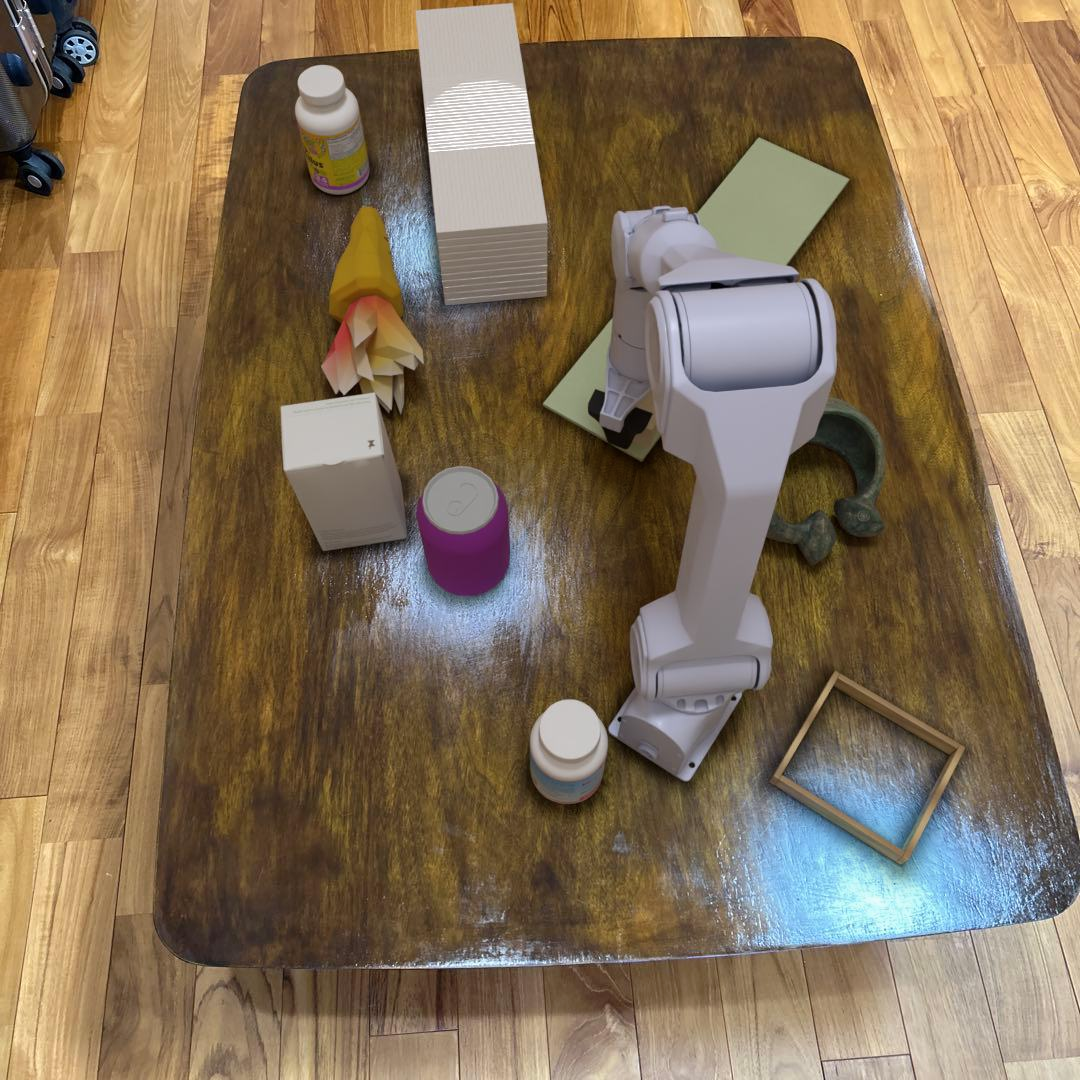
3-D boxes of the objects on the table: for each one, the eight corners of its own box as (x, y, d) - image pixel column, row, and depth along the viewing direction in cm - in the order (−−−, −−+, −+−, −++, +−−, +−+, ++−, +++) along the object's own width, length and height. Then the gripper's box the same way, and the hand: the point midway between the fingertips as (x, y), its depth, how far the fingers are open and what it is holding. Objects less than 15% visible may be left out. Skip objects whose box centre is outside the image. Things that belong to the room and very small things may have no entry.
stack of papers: (546, 296, 113) (547, 222, 103) (445, 305, 112) (436, 232, 102) (514, 84, 127) (512, 2, 117) (424, 92, 127) (415, 10, 117)
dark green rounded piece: (781, 598, 97) (806, 548, 88) (687, 474, 103) (701, 416, 94) (911, 523, 100) (947, 467, 92) (813, 407, 106) (838, 345, 97)
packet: (649, 447, 104) (652, 430, 101) (601, 429, 105) (603, 412, 102) (664, 415, 105) (667, 398, 103) (616, 398, 106) (618, 380, 104)
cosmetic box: (402, 482, 102) (380, 387, 89) (409, 544, 99) (388, 455, 86) (313, 494, 102) (278, 401, 88) (318, 556, 99) (282, 469, 85)
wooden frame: (900, 865, 86) (908, 860, 85) (768, 782, 89) (773, 776, 88) (957, 753, 90) (965, 747, 89) (829, 678, 94) (835, 670, 92)
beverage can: (481, 615, 96) (474, 556, 86) (410, 575, 98) (394, 512, 87) (526, 549, 99) (524, 484, 88) (457, 511, 101) (447, 443, 90)
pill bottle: (596, 812, 88) (603, 776, 78) (523, 797, 89) (521, 760, 79) (609, 741, 91) (617, 698, 81) (538, 727, 92) (538, 683, 81)
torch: (385, 261, 120) (395, 432, 105) (315, 240, 116) (316, 414, 102) (412, 204, 114) (427, 377, 100) (340, 180, 110) (345, 356, 96)
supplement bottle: (303, 165, 121) (278, 68, 110) (358, 147, 122) (339, 49, 111) (323, 205, 118) (300, 110, 107) (379, 186, 120) (362, 91, 108)
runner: (641, 462, 103) (642, 459, 103) (542, 406, 106) (542, 403, 106) (848, 182, 120) (849, 178, 120) (757, 140, 123) (758, 137, 123)
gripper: (659, 403, 87) (644, 487, 100) (719, 276, 93) (698, 369, 106) (579, 374, 89) (574, 460, 101) (643, 251, 95) (632, 346, 107)
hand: (633, 412), depth 103 cm, fingers open, 7 cm apart
